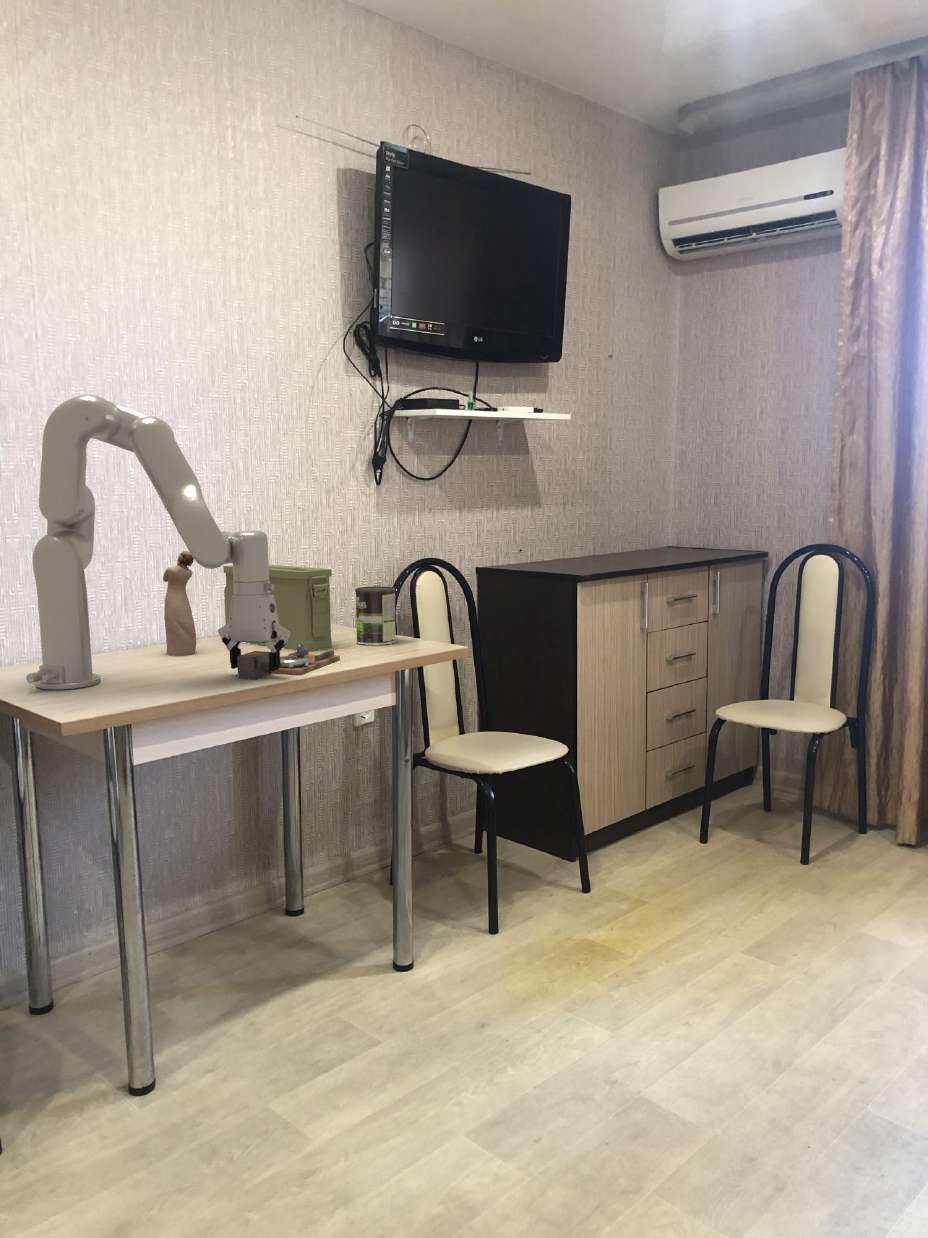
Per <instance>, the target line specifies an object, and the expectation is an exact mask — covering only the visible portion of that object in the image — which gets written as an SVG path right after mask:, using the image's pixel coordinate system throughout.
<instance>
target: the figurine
mask: <svg viewBox="0 0 928 1238" xmlns="http://www.w3.org/2000/svg"><path fill="white" fill-rule="evenodd" d="M178 555H179V556H178V557H177V563H176V565H174V566H168V567H166V569H165V571H164V572H163V576H162V581H163V582H165V583H167V589H166V594H165V597H164V617H163V618H164V619H163V620H164V626H165V627H164V628H165V639H166V655H167V654H168V656H170V655H175V656H174V657H180V656H179V655H183V656H191V655H195V654H196V649H197V632H196V631H197V630H196V627H195V620H194V618H193V611H192V608H191V605H190V601H189V598H188V594H187V584H188V582H189V580H190V579H191V577H192V575H193V570H192V569H190V568H189V567H191V566H192V565H193V563H194V561H195V560H194V558H193V557H192V555H191V553H190V551H189V550H182V551H181V553H180V554H178ZM190 654H191V655H190Z"/></svg>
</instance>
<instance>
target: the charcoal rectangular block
mask: <svg viewBox="0 0 928 1238" xmlns="http://www.w3.org/2000/svg"><path fill="white" fill-rule="evenodd" d="M270 652H271V651H267V650H266V651H263V650H253V651H250V652H246V653H243V654H241V655H240V656H237V664H238V668H237V680H245V681H246V680H249V681H256V680H259V679H262V678H264V677H267V676H270V675H273V673H272V672H271V671H270V670H269V653H270ZM258 678H259V679H258Z"/></svg>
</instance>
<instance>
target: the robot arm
mask: <svg viewBox="0 0 928 1238" xmlns="http://www.w3.org/2000/svg"><path fill="white" fill-rule="evenodd" d="M173 431H174V430H173V429H172V427H171V426H170V425H169V423H168V422H166V421H164V420H163V419H161V418H159V417H156V416H151V415H147V414H144V413H141V412H138V411H135V410H132V409H129V408H127V407H124V406H122V405H119V404H117V403H114V402H112V401H110V400H107V399H105V398H103V397H101V396H98V395H95V394H82V395H78V396H74V397H71V398H69V399H66V400H65V401H63V402H62V403H60V404H59V405H58V406H56V407H55V409H53V411H52V412H51V414H50V415H49V416H48V419H47V421H46V423H45V426H44V430H43V434H42V444H41V445H42V446H41V447H42V448H41V460H40V461H41V462H40V463H41V464H40V475H39V477H40V478H39V495H38V507H39V508H38V509H39V511H40V513H41V515H42V516H43V517H44V518H45V520H46V521H47V524H46V525H47V526H46V528H47V529H46V535H44V536H42V537H41V538H40V539H39V540H38V541H37V543H36V545H35V547H34V549H33V553H32V569H33V575H34V581H35V586H36V594H37V595H36V596H37V605H38V606H37V608H38V618H39V619H38V620H39V621H38V622H39V630H40V632H39V633H40V635H39V636H40V646H41V649H40V650H41V662H42V665H39V667H38V668H39V669H38V671H36V672H32V673H28V674H27V675H26V678H25V679H26V682H27V683H29V684H33V683H35V687H36V688H38V689H42V690H52V691H53V690H54V691H55V690H56V691H57V690H73V689H81V688H86V687H91V686H94V685H98V684H99V683H100V682H101V675H99V674H97V673H93V662H92V645H91V644H92V643H91V631H90V630H91V629H90V616H89V615H90V614H89V612H90V611H89V602H88V589H87V582H86V577H85V576H86V575H85V569H86V568H87V567H88V566H89V565H90V563H91V562H92V558H93V555H94V554H93V553H94V540H95V517H96V516H95V515H96V504H95V503H96V501H95V497H94V494H93V492H92V491H91V489H90V488H89V486H88V485H87V484H86V482H87V481H86V479H87V476H86V475H87V474H86V473H87V472H86V471H87V464H88V463H87V462H88V460H87V459H88V458H87V447H88V443H89V442H90V440H93V439H94V440H96V441H100V442H102V443H107V444H109V445H111V446H114V447H116V448H120V449H122V450H125V451H129V452H130V453H131V452H132V453H134V454H135V457H136V458H137V461H139V464H140V465H141V467H142V469H143V470H144V471H145V474H146V475H147V477H148V478H149V481H150V482H151V484H152V487H153V488H154V489H155V491H156V493H157V495H158V497H159V499H160V500H161V502H162V504H163V506H164V509H165V511H166V512H167V513H168V515H169V516H170V519H171V521H172V523H173V525H174V527H175V529H176V530H177V532H178V535H180V538H181V539H182V541H183V543H184V544H185V546H186V548H187V551H189V552H190V553H191V555H192V557H193V558H194V561H195V562H196V563H197V564H198V565H199V566H201V567H202V568H205V569H208V570H209V569H211V570H213V569H214V570H215V569H217V568H220V567H222V566H224V565H226V564H227V565H228V564H231V565H233V585H234V595H233V596H232V598H231V603H230V613H229V623H228V624H226V623H225V624H224V625H223V626H222V627H220V628H218V629H217V633H218V636H219V637H220V638H221V642H222V643H223V645H224V646H226V649H227V651H229V664H230V669H232V670H233V669H238V664H237V656H240V655H242V650H241V648H239V647H240V645H241V642H252V643H266V645H267V646H266V647H267V648H268V649H269V650H270V651H269V652H270V653H269V670H270V671H274V670H277V669H279V668H280V657H281V651H283V649H282V648H283V647H284V646H285V645H286V643H287V640H288V638H289V636H290V631H288V630H287V629H285V628H284V627H282V626H280V625H279V619H278V612H277V607H276V602H275V599H274V595H270V591H273V590H274V588H275V586H274V585H273V584H270V581H269V565H270V563H269V562H270V561H269V542H268V541H269V540H268V536H267V534H266V532H264V531H261V530H240V531H236V532H234V531H222V530H221V529H220V528H219V526H218V525H217V523H216V520H215V519H214V517H213V515H212V513H211V511H210V510H209V508H208V506H207V504H206V502H205V498H204V495H203V492H202V489H201V485H200V482H199V480H198V478H197V475H196V474H195V472H194V471H193V469H192V468H191V465H190V464H189V462H188V460H187V459H186V457H185V455H184V453H183V451H182V450H181V448H180V445H178V442H177V441H176V438H175V434H174V432H173ZM228 631H229V632H230V637H229V636H228V633H227V632H228ZM280 635H281V638H280V640H279V641H278V640H277V639H278V638H279V636H280Z"/></svg>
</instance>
